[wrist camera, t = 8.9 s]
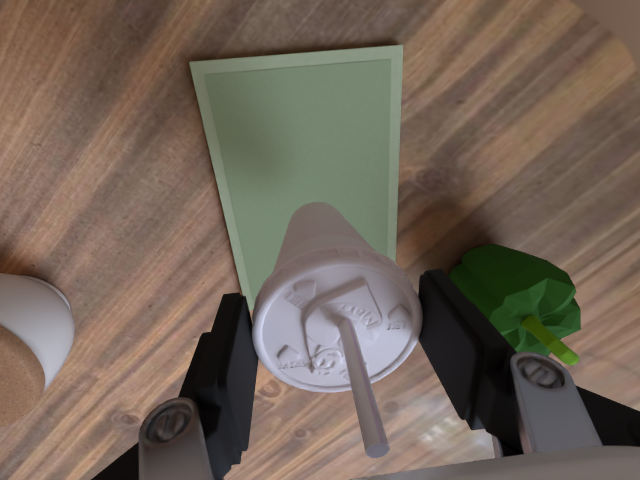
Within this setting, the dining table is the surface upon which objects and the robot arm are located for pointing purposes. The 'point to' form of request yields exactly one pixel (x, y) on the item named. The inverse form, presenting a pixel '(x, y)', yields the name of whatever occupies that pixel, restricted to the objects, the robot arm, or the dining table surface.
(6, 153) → the dining table surface
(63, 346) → the trinket box
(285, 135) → the placemat
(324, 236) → the smoothie
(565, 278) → the bell pepper
